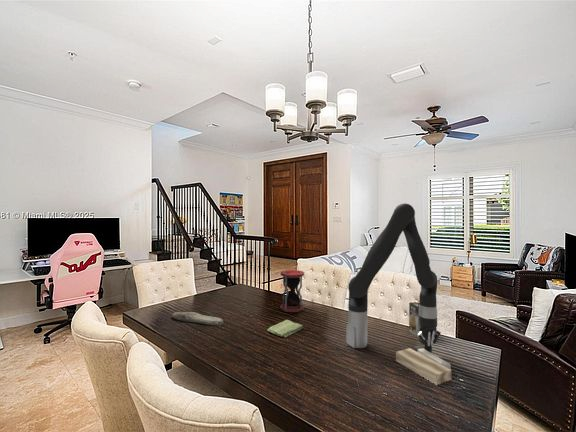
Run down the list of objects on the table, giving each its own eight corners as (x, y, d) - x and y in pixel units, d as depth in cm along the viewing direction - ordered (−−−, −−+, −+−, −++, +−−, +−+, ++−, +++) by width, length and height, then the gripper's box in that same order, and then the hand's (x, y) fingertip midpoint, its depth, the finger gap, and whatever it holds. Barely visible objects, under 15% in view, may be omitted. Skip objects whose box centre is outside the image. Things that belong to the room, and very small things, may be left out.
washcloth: (265, 332, 156) (265, 326, 156) (287, 323, 169) (287, 318, 169) (283, 339, 147) (283, 333, 147) (304, 329, 160) (304, 324, 160)
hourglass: (289, 303, 207) (289, 268, 206) (308, 307, 197) (308, 271, 197) (275, 309, 193) (275, 272, 193) (295, 314, 184) (295, 275, 184)
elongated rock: (217, 330, 161) (226, 325, 170) (218, 321, 161) (227, 316, 170) (167, 319, 172) (178, 314, 181) (168, 310, 172) (179, 306, 182)
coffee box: (408, 331, 159) (408, 302, 159) (419, 330, 159) (419, 302, 159) (417, 338, 149) (417, 307, 149) (428, 337, 150) (429, 307, 150)
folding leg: (452, 374, 115) (452, 364, 115) (445, 375, 114) (445, 366, 114) (419, 353, 132) (419, 344, 132) (413, 354, 131) (413, 345, 131)
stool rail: (436, 385, 108) (436, 374, 108) (395, 360, 126) (395, 351, 126) (451, 380, 111) (451, 369, 111) (409, 356, 129) (409, 348, 129)
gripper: (422, 319, 124) (423, 359, 124) (446, 316, 128) (446, 354, 128) (410, 314, 131) (410, 351, 131) (432, 310, 135) (432, 347, 135)
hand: (428, 353), depth 130 cm, fingers closed
